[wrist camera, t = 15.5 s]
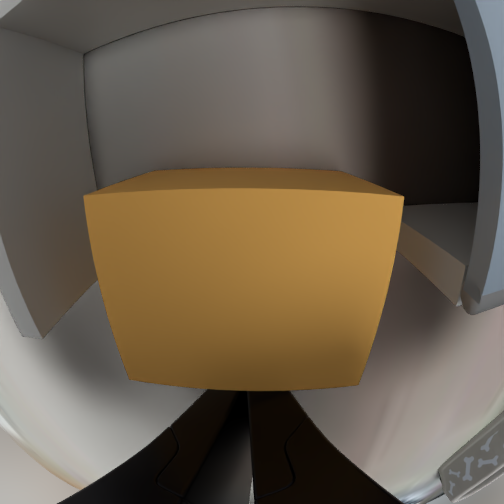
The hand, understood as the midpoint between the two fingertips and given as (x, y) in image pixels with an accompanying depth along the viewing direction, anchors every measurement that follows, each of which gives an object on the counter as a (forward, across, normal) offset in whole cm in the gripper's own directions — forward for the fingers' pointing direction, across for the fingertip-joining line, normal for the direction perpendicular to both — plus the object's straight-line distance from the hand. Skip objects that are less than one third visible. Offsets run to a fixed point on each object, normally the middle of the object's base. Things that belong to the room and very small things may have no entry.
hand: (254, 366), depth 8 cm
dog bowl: (+2, +24, -24) cm, 34 cm away
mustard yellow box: (+1, 0, +4) cm, 4 cm away
